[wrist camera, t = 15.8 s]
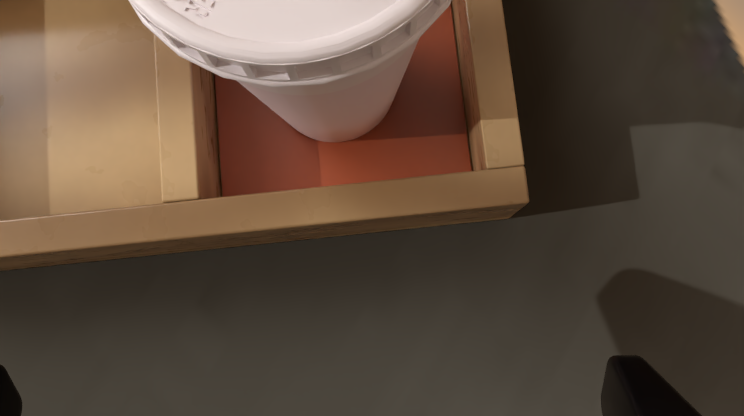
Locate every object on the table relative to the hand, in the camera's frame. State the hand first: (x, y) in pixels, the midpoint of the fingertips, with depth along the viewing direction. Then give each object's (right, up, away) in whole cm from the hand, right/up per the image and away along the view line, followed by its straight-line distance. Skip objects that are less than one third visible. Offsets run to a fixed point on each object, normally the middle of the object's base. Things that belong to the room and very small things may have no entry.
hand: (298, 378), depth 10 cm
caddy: (-4, +6, +11) cm, 13 cm away
